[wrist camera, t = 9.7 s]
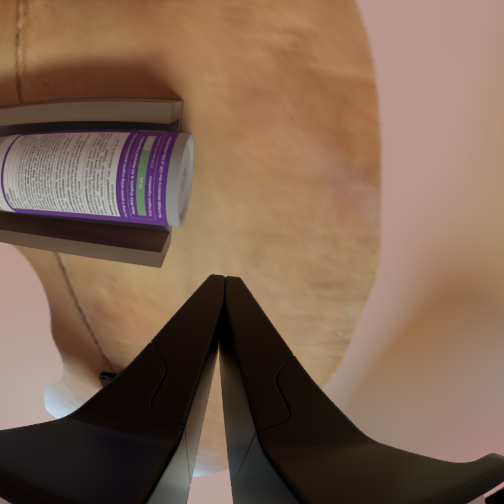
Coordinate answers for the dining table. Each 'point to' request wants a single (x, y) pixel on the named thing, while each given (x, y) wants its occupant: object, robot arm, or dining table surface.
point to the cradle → (85, 229)
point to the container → (99, 174)
